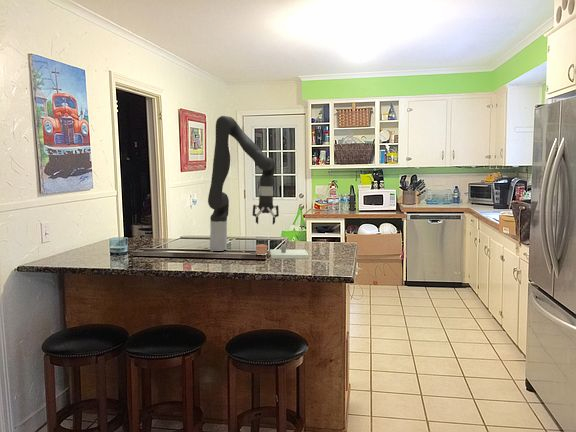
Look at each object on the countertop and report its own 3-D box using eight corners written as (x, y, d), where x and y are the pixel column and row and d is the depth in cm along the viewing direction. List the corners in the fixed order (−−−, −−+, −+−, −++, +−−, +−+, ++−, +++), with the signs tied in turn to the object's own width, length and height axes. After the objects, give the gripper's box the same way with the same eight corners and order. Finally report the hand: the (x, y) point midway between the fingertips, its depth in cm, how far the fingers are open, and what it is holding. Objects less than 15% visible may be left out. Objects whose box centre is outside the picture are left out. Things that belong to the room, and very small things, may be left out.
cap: (255, 256, 258) (256, 246, 258) (255, 254, 265) (255, 244, 264) (267, 256, 259) (267, 246, 258) (266, 254, 265) (267, 244, 264)
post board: (271, 258, 254) (271, 247, 253) (270, 252, 268) (270, 242, 267) (308, 258, 256) (309, 247, 255) (305, 253, 270) (305, 242, 269)
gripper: (252, 194, 255) (252, 224, 258) (279, 195, 256) (278, 225, 258) (253, 193, 263) (252, 222, 265) (279, 194, 263) (278, 223, 265)
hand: (265, 224), depth 261 cm, fingers open, 8 cm apart
